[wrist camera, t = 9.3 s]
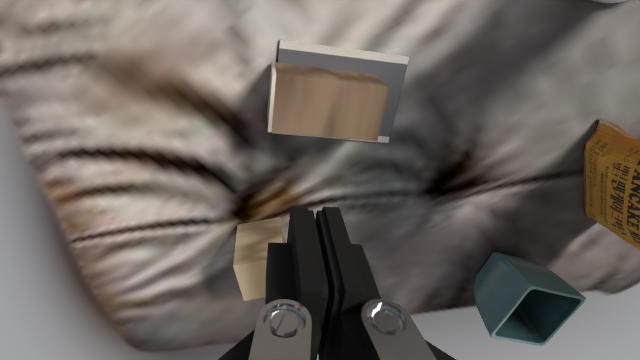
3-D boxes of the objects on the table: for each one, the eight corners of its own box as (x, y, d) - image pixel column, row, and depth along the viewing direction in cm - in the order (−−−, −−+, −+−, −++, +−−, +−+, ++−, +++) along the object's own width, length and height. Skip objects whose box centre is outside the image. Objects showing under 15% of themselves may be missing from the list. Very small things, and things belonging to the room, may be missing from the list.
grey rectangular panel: (408, 56, 35) (409, 56, 35) (387, 141, 40) (388, 143, 39) (279, 39, 33) (280, 40, 33) (271, 132, 37) (272, 133, 37)
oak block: (280, 217, 42) (282, 256, 36) (287, 250, 45) (290, 292, 39) (237, 224, 42) (233, 265, 36) (246, 257, 45) (244, 301, 38)
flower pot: (455, 285, 52) (489, 338, 44) (488, 237, 48) (531, 286, 41) (503, 294, 54) (544, 347, 47) (538, 249, 51) (588, 298, 43)
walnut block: (271, 61, 34) (374, 74, 35) (267, 113, 36) (364, 122, 38) (272, 73, 29) (389, 87, 31) (267, 132, 32) (377, 141, 33)
